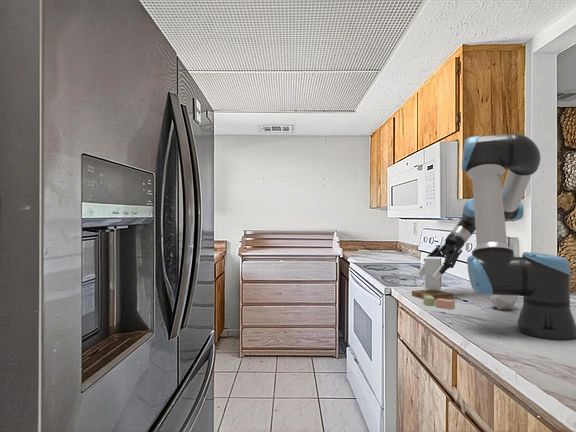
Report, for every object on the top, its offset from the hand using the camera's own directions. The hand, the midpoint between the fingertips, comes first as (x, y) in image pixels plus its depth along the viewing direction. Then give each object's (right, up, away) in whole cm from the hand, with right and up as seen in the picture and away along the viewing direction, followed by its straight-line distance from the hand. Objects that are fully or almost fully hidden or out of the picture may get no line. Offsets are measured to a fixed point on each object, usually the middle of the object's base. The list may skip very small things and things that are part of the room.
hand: (427, 276), depth 172 cm
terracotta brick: (0, -9, -19) cm, 21 cm away
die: (+21, -9, -22) cm, 32 cm away
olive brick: (-4, -9, -13) cm, 16 cm away
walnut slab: (+2, -9, +1) cm, 9 cm away
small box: (+3, -5, +1) cm, 6 cm away
